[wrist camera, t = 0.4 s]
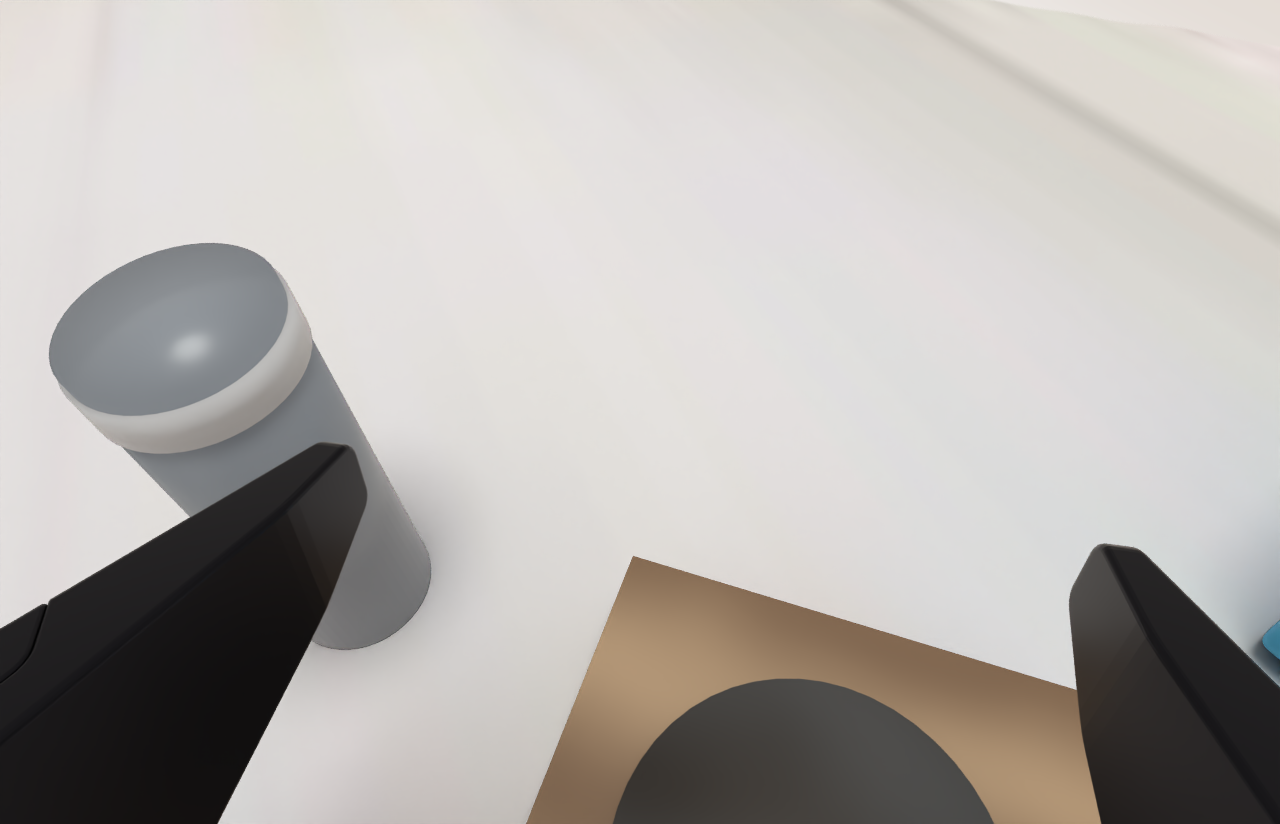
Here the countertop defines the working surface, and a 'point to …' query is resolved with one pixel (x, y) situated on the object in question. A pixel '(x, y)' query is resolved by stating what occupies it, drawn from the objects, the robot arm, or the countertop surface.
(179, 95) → the countertop surface
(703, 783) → the stand
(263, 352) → the grey bottle
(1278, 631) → the data package
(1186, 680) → the robot arm
